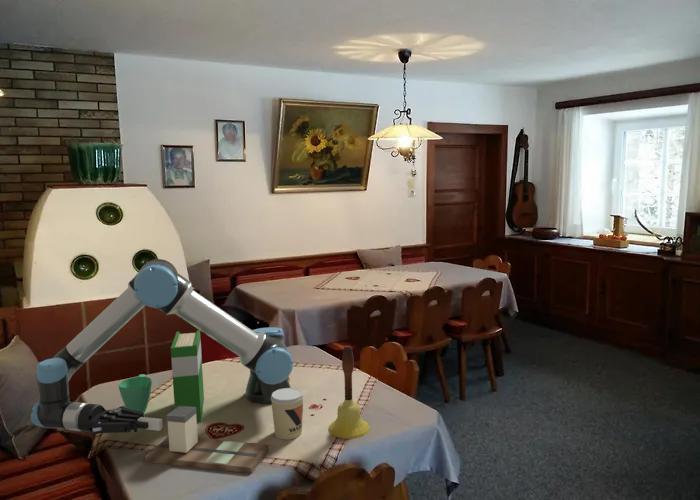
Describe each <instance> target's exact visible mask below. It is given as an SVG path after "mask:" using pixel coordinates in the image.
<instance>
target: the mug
mask: <svg viewBox="0 0 700 500" xmlns="http://www.w3.org/2000/svg"><path fill="white" fill-rule="evenodd" d="M152 382H153V380H152V378H151V377H148V376H146V374H142V373H141V374H139V375H138V376H135V377H134V376H133V377H130V378H126V379H124V380H122V381H120V382H119V383H118V390H119V393H120V396H121V399H122V402H123V404H124V407H125V408H127V409H131V410H135V411H139V412H143V413H144V414H145V413H146V411H147V407H148V406H149V405H148V404H149V401H150V397H151V391H152Z"/></svg>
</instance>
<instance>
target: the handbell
mask: <svg viewBox="0 0 700 500" xmlns="http://www.w3.org/2000/svg"><path fill="white" fill-rule="evenodd" d="M354 361H355V359H354V352H353V348H352V346H351V345H344V346H343V350H342V356H341V369H342V371H343V372H342V373H343V375H344V401H342V402H340V404H339V405H338V406H337V412H336V413H337V417H336V419H335V420H334V421H332V422H331V423H330V424H329V426H328V430H327V431H328V432H329V433H328V434H330V435H332V436H333V437H334V438H335V437H336V438H338V439H344V440H345V439H346V440H347V439H348V440H349V439H350V440H351V439H359V438H362V437H364V436H366V435H367V434H369V432H370V431H371V427H370V425H369V423H368V422H367V421H365V420H363V418H362V417H361V407H360V405H359V404H358V403H357V402H355V401H354V400H353V372H354V368H355V367H354V366H355V364H354V363H355V362H354Z"/></svg>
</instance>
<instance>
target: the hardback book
mask: <svg viewBox="0 0 700 500" xmlns="http://www.w3.org/2000/svg"><path fill="white" fill-rule="evenodd" d="M170 357H171V369H172V370H171V371H172V373H171V374H172V384H173V385H172V386H173V389H172V390H173V402H174V403H173V404H174V409H175V408H177V407H178V406H189V407H196V411H197V413H196V419H197V423H202V419H203V418H202V417H203V409H204V402H205V393H204V392H205V391H204V378H203V377H204V375H203V374H204V373H203V357H202V342H201V331H200V330H199V329H197V330H196V332H188V333H180V331H176V332H175V336H174V338H173V341H172V344H171V346H170Z"/></svg>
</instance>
